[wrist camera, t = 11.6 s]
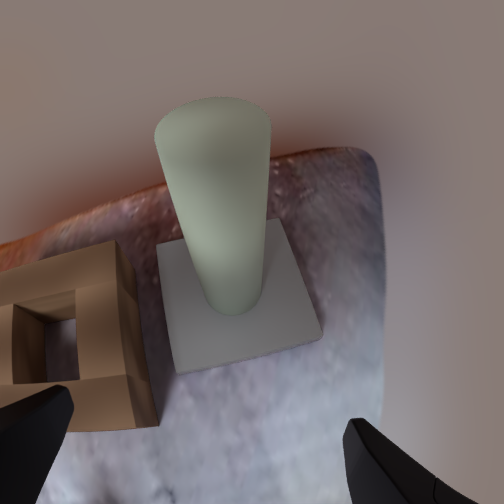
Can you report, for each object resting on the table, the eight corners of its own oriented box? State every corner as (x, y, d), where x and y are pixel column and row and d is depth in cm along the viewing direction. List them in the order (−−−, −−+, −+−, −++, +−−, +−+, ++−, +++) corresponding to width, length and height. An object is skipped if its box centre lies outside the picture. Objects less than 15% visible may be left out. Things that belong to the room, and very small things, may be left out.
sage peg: (258, 318, 18) (267, 167, 8) (199, 312, 18) (137, 163, 8) (263, 265, 20) (273, 98, 9) (209, 260, 20) (173, 97, 10)
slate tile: (319, 339, 18) (323, 335, 17) (179, 374, 17) (176, 372, 16) (277, 225, 23) (279, 217, 22) (159, 252, 21) (155, 244, 20)
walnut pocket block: (159, 425, 15) (136, 427, 12) (26, 430, 14) (-9, 426, 10) (135, 269, 21) (115, 239, 17) (21, 296, 19) (-7, 274, 16)
